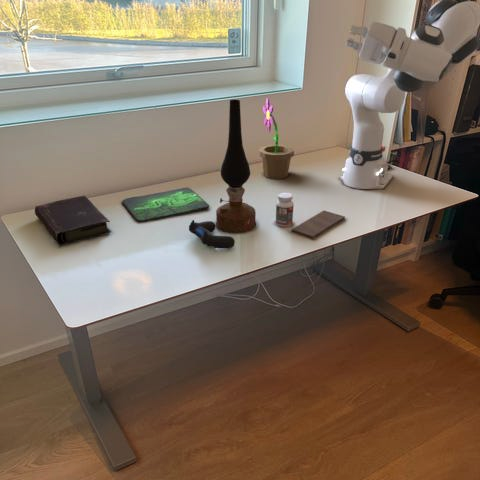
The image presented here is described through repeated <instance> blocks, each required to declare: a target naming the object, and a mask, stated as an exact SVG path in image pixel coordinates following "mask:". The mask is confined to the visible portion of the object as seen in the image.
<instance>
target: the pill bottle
mask: <svg viewBox="0 0 480 480" xmlns="http://www.w3.org/2000/svg"><path fill="white" fill-rule="evenodd" d="M293 197H294V196H293V194H292V193H289V192H280V193H278V195H277V198H278V200H277V201H276V203H275V204H276V205H275V224H276V225H277V226H279V227H289V226H291V225H292V224H293V219H294V201H293Z"/></svg>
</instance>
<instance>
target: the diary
mask: <svg viewBox="0 0 480 480" xmlns="http://www.w3.org/2000/svg"><path fill="white" fill-rule="evenodd" d="M34 214H35V216H36V217H37V219H38V220H39V221H40V223H41V224H42V225H43V227H44V228H45V229H46V230H47V232H48V233H49V234H50V235H51V238H52V239H53V240H54V242H55V243H56V244H57V245H58V246H59V247H62V246H65V245H69V244H70V245H71V244H73V243H77V242H81V241H85V240H90V239H93V238H97V237H101V236H104V235H107V234H110V233H111V232H112V230H111V229H110V228H109V227H108V225H107V223H111V221H110V220H109V219H108V217H106V216H105V215H104V214H103V213H102V212H101V211H100V210H99V208H97V207H96V205H94V204H93V202H92V201H91V200H90V199H89V198H88V197H87V196H86V195H80V196H75V197H70V198H65V199H60V200H56V201H53V202H48V203H44V204H42V205H41V204H40V205H36V206H35V208H34Z"/></svg>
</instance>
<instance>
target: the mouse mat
mask: <svg viewBox="0 0 480 480" xmlns="http://www.w3.org/2000/svg"><path fill="white" fill-rule="evenodd" d="M121 202H122V204H123V205H124V206H125V208H126V209H127V210H128V212H129V213H130V215H131V216H132V217H133V218H134V220H135V221H136V222H140V223H141V222H142V223H143V222H147V221H150V220H158V219H162V218H167V217H172V216H178V215H181V214H187V213H191V212H196V211H198V210H199V211H200V210H204V209H208V208H209V207H210V205H209V203H207V202H206V201H205V200H204V199H203V198H202V197H201V196H200V195H198V194H197V193H196V191H194V190H193V189H191V188H190V187H181V188H177V189H172V190H168V191H162V192H161V191H160V192H156V193H150V194H146V195H139V196H132V197H127V198H124V199H123V200H122V201H121Z"/></svg>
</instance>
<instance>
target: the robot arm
mask: <svg viewBox="0 0 480 480" xmlns="http://www.w3.org/2000/svg"><path fill="white" fill-rule="evenodd" d="M479 27H480V4H479V3H478V2H476V1H473V0H467V1H462V2H458V0H438V1H436V2H435V3H434V4H432V6H430V8H429V10H428V11H427V13H426V15H425V24H422V25H420V26H418V27H416V28H415V29H414V30H413V32H412V33H411V35H410V36H408V34H407V30H406V29H405V28H403V27H400V26H399V27H397V28H396V27H394V26H392V25H389V24H386V23H382V22H379V21H372V22H370V24H369V25H368V27H367V26H357V25H354V24H353V25H351V27H350V29H349V34H350V35H353V36H360V37H361V38H363V39H364V40H363V42H358V41H357V40H355V39H354V38H351V37H348V38H347V40H346V45H345V46H346V47H349V48H351V49H352V50H354V51H356V52H358V53H359V54H358V58H359V59H360V60H362V61H365V62H368V63H371V64H375V65H381V64H382V65H381V66H382V67H385V68H387V73H385V74H383V75H381V76H377V75H373V74H368V73H359V74H354V75H352V76H351V77H350V78H349V79H348V80H347V82H346V85H345V89H344V93H345V94H344V95H345V97H346V99H347V100H348V103H349V105H350V108H351V113H352V119H353V132H352V133H353V134H352V144H351V146H350V149H349V157H347V159H346V160H345V165H344V167H343V168H342V170H341V171H342V172H343V174H342V175H340V180H341V181H342V182H343V185H346V186H347V187H349V188H353V189H359V190H375V189H379V190H383V189H384V188H385V187H386V186H387V185H388V183H389V182H390V181H391V180H392V179H393V175H392V174H391V173H388V171H389V170H391V169H392V168H393V167H392V165H390V163H393V162H396V163H397V164H399V163H400V161H399V160H398V159H390V160H388V161H386V160H385V158H383V153H384V152H386V149H387V147H386V146H385V145H383V139H384V132H385V125H384V123H383V122H382V120H381V118H380V114H394V113H396V112H397V111H399V110H400V109H401V107H402V106H403V104H404V102H405V99H406V93H413V92H417V91H419V90H421V89H423V88H424V85H425V83H426V81H427V82H433V83H439V82H440V81H441V80H442V79H443V78H444V76H445V75H446V73H447V71H448V69H449V67H450V65H451V64H452V65H453V64H456V65H457V64H460V63H463V62H466V61H468V60H469V59H471V58H472V57H473V56H474V55H475V53H476V52H477V51H478V49H479V47H480V40H479V36H478V35H477V34H476V31H477V30H478V28H479ZM379 113H380V114H379Z"/></svg>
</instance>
